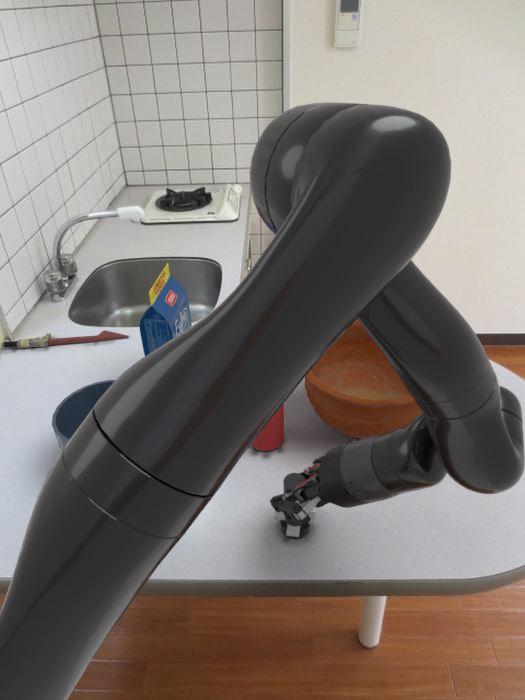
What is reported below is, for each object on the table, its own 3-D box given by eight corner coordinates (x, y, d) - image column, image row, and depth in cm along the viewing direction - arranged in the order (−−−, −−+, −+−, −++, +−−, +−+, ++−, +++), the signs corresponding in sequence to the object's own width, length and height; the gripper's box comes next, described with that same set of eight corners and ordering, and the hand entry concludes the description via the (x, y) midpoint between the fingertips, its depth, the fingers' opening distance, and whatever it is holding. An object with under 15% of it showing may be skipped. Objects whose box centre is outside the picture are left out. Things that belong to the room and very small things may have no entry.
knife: (7, 340, 125) (0, 350, 121) (5, 334, 124) (-2, 344, 120) (131, 332, 128) (129, 341, 124) (130, 325, 127) (127, 335, 123)
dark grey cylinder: (313, 546, 76) (314, 500, 70) (272, 541, 77) (270, 495, 71) (316, 512, 81) (318, 467, 75) (278, 508, 82) (276, 463, 76)
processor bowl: (119, 508, 83) (104, 459, 76) (48, 472, 90) (30, 424, 83) (181, 443, 94) (173, 396, 88) (114, 415, 101) (102, 370, 95)
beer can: (240, 443, 94) (235, 390, 87) (262, 422, 98) (260, 371, 91) (269, 458, 90) (267, 405, 83) (291, 436, 94) (291, 384, 88)
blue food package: (198, 369, 112) (184, 262, 98) (184, 406, 103) (166, 293, 89) (170, 368, 113) (152, 261, 99) (153, 404, 103) (130, 292, 89)
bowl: (458, 411, 98) (473, 345, 90) (394, 495, 83) (405, 424, 74) (345, 365, 112) (349, 304, 103) (272, 430, 96) (269, 363, 88)
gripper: (372, 413, 68) (293, 444, 81) (317, 484, 59) (238, 507, 71) (407, 458, 68) (323, 482, 81) (357, 536, 59) (271, 550, 72)
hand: (283, 494), depth 76 cm, fingers open, 4 cm apart
